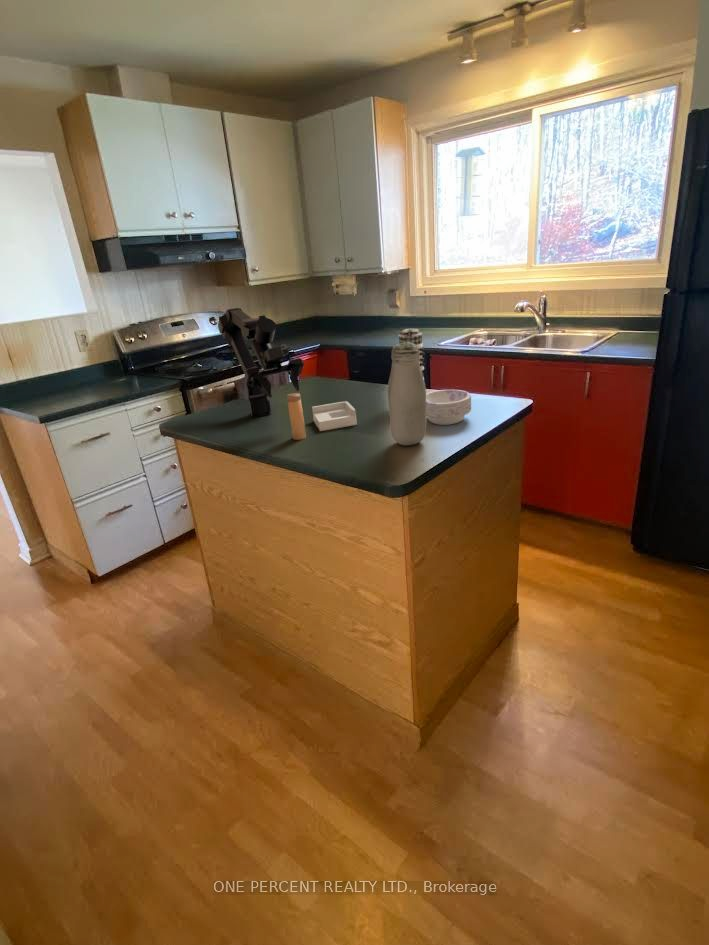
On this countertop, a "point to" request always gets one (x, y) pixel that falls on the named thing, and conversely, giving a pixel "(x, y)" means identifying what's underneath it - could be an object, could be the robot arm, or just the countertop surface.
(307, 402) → the countertop surface
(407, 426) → the light grey bottle
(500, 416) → the countertop surface
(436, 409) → the paper bowls
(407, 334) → the decorative candle
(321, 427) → the housing
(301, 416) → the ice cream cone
